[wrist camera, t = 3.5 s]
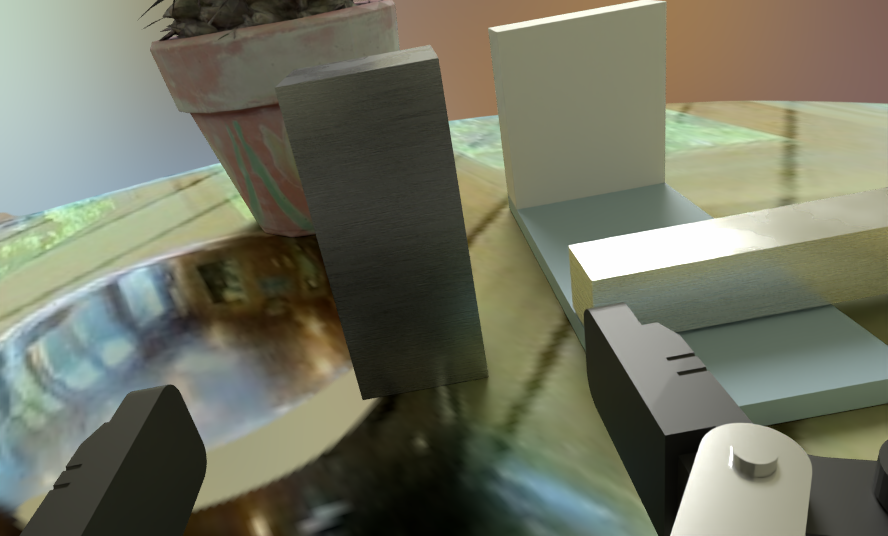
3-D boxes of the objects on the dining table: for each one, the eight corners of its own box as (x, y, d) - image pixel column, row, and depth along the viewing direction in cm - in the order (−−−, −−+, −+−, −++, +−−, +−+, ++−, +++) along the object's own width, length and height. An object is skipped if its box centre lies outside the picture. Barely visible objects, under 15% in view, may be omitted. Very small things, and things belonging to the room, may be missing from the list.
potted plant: (299, 167, 56) (211, -146, 45) (483, 169, 46) (430, -229, 35) (135, 250, 42) (-49, -167, 31) (347, 278, 33) (189, -311, 22)
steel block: (362, 399, 23) (274, 87, 18) (366, 343, 27) (293, 69, 21) (488, 376, 23) (438, 57, 18) (475, 323, 27) (430, 44, 21)
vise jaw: (595, 347, 22) (576, -3, 16) (572, 306, 24) (550, -5, 19) (1036, 266, 22) (1159, -109, 16) (964, 234, 24) (1050, -96, 19)
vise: (637, 449, 18) (631, 95, 14) (509, 207, 38) (488, 28, 33) (917, 397, 19) (1012, 26, 14) (645, 182, 38) (644, -1, 33)
